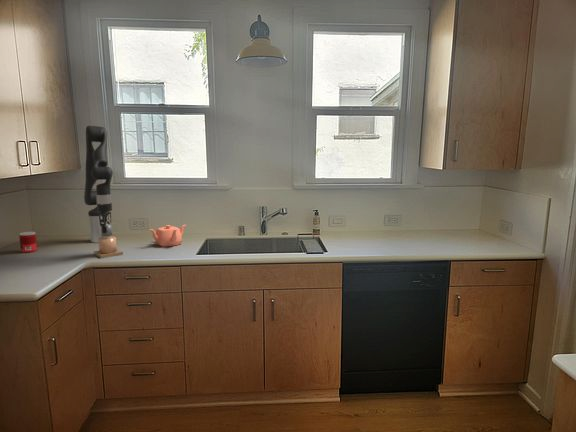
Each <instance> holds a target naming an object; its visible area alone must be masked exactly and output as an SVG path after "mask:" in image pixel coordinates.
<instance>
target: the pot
mask: <svg viewBox="0 0 576 432" xmlns="http://www.w3.org/2000/svg"><path fill="white" fill-rule="evenodd" d="M186 226H187V224H183V225H181V227H180V228H179V227H177V226H174V225H173V226H172V225H169V224H166V225H165V226H162V227H158V228H156V231H155V230H154V229H151V228H150V229H148V230H149V231H150V232H151V233H152V238H153V239H154V241H155V243H156V245H158V246H159V247H162V248H165V247H174V246H178V245H181V244H182V242H183V238H182V237H183V235H184V230H185V227H186Z"/></svg>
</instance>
